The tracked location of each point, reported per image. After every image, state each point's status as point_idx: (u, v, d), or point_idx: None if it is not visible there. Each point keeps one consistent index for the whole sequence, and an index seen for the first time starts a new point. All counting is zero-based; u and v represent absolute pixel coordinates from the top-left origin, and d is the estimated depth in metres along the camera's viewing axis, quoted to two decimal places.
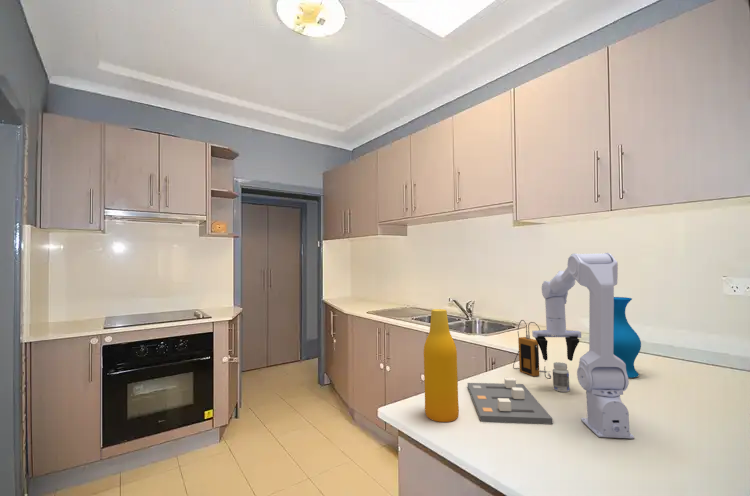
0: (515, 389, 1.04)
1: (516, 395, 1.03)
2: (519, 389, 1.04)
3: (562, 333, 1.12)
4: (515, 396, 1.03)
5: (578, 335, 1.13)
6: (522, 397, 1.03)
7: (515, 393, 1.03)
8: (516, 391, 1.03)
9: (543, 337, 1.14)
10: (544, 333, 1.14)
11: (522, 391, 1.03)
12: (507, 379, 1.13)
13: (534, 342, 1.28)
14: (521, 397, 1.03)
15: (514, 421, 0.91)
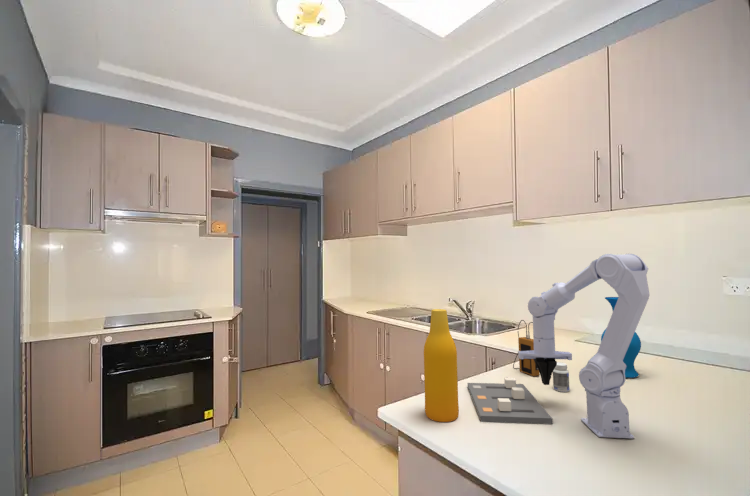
0: (515, 389, 1.04)
1: (516, 395, 1.03)
2: (519, 389, 1.04)
3: (551, 355, 1.01)
4: (515, 396, 1.03)
5: (568, 357, 1.02)
6: (522, 397, 1.03)
7: (515, 393, 1.03)
8: (516, 391, 1.03)
9: None
10: (531, 355, 1.02)
11: (522, 391, 1.03)
12: (507, 379, 1.13)
13: None
14: (521, 397, 1.03)
15: (514, 421, 0.91)
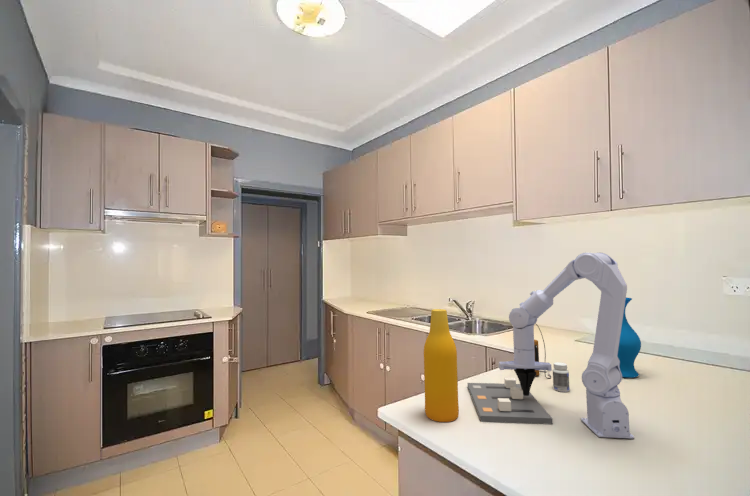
0: (514, 389, 1.04)
1: (515, 395, 1.03)
2: (517, 388, 1.04)
3: (530, 366, 1.01)
4: (514, 396, 1.03)
5: (548, 368, 1.02)
6: (521, 397, 1.03)
7: (514, 393, 1.03)
8: (514, 391, 1.03)
9: None
10: (511, 365, 1.03)
11: (521, 391, 1.03)
12: (507, 379, 1.13)
13: (534, 342, 1.28)
14: (520, 397, 1.03)
15: (514, 421, 0.91)
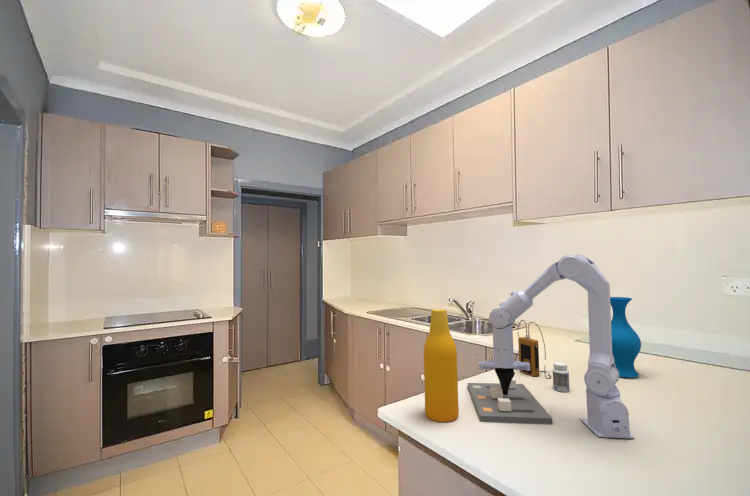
0: (493, 388, 1.04)
1: (494, 394, 1.04)
2: (497, 388, 1.05)
3: (509, 366, 1.02)
4: (493, 395, 1.04)
5: (527, 367, 1.03)
6: (500, 396, 1.03)
7: (493, 392, 1.04)
8: (494, 391, 1.04)
9: None
10: (490, 365, 1.04)
11: (500, 390, 1.03)
12: None
13: (534, 342, 1.28)
14: (499, 396, 1.03)
15: (514, 421, 0.91)
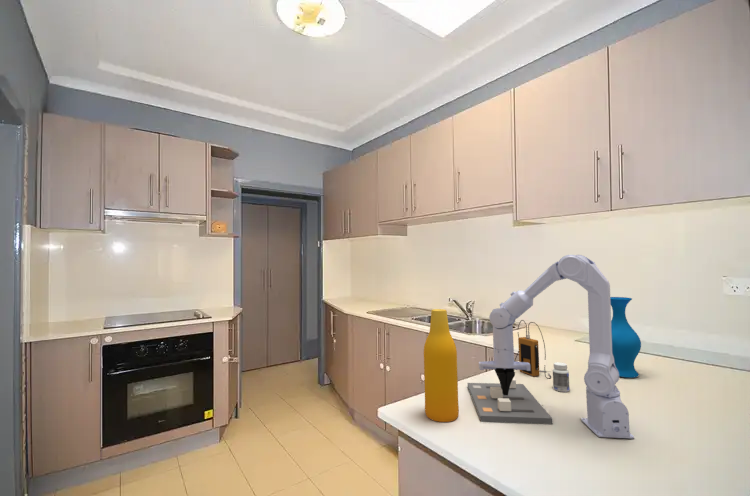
0: (493, 388, 1.04)
1: (494, 394, 1.04)
2: (497, 388, 1.05)
3: (509, 366, 1.02)
4: (493, 395, 1.04)
5: (527, 368, 1.03)
6: (500, 396, 1.03)
7: (493, 392, 1.04)
8: (494, 391, 1.04)
9: None
10: (490, 365, 1.04)
11: (500, 390, 1.03)
12: None
13: (534, 342, 1.28)
14: (499, 396, 1.03)
15: (514, 421, 0.91)
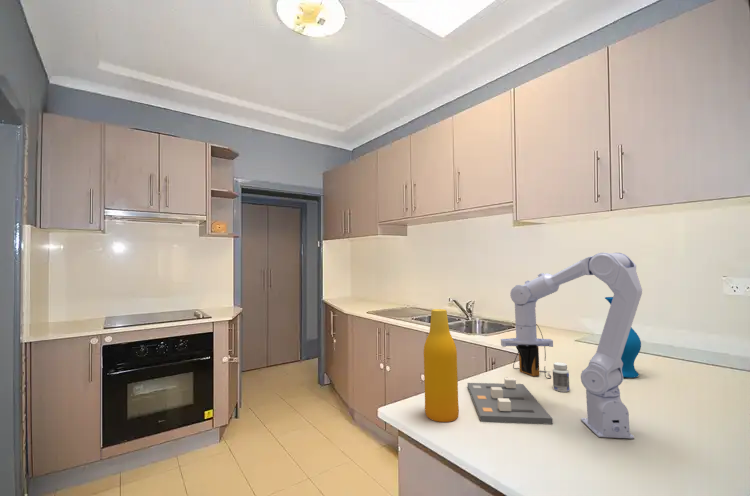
0: (494, 388, 1.04)
1: (495, 394, 1.04)
2: (498, 388, 1.05)
3: (532, 342, 1.02)
4: (494, 395, 1.04)
5: (550, 344, 1.03)
6: (501, 396, 1.03)
7: (494, 392, 1.04)
8: (494, 391, 1.04)
9: None
10: (513, 342, 1.04)
11: (501, 390, 1.03)
12: (507, 379, 1.13)
13: None
14: (500, 396, 1.03)
15: (514, 421, 0.91)
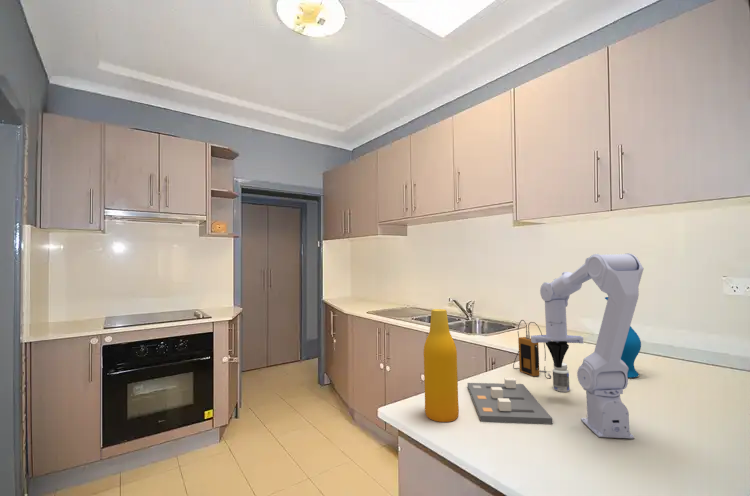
0: (494, 388, 1.04)
1: (495, 394, 1.04)
2: (498, 388, 1.05)
3: (563, 338, 1.04)
4: (494, 395, 1.04)
5: (580, 340, 1.05)
6: (501, 396, 1.03)
7: (494, 392, 1.04)
8: (494, 391, 1.04)
9: None
10: (543, 338, 1.06)
11: (501, 390, 1.03)
12: (507, 379, 1.13)
13: None
14: (500, 396, 1.03)
15: (514, 421, 0.91)
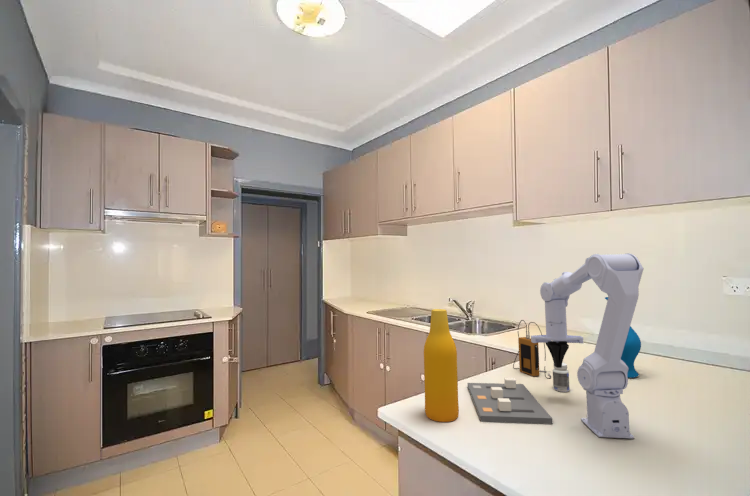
0: (494, 388, 1.04)
1: (495, 394, 1.04)
2: (498, 388, 1.05)
3: (563, 338, 1.04)
4: (494, 395, 1.04)
5: (580, 340, 1.05)
6: (501, 396, 1.03)
7: (494, 392, 1.04)
8: (494, 391, 1.04)
9: None
10: (543, 338, 1.06)
11: (501, 390, 1.03)
12: (507, 379, 1.13)
13: None
14: (500, 396, 1.03)
15: (514, 421, 0.91)
